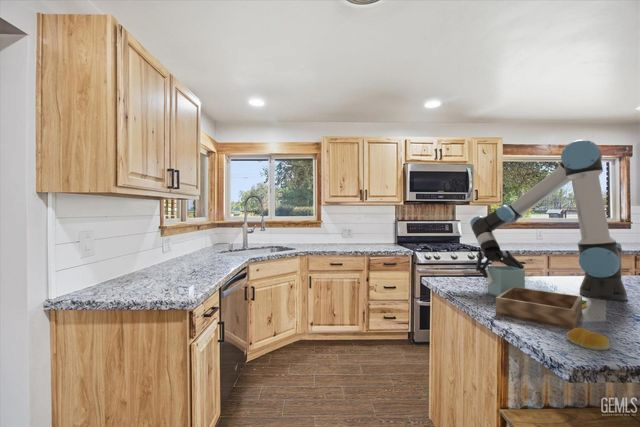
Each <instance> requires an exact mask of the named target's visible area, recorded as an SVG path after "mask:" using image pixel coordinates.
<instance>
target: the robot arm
mask: <svg viewBox="0 0 640 427" xmlns="http://www.w3.org/2000/svg"><path fill="white" fill-rule="evenodd" d="M602 157H603V156H602V151H601V150H600V148H599V146H598V145H597V144H596V143H595V142H593V141H591V140H588V139H587V140H586V139H578V140H574V141H571V142H569V143H568V144H566V146H565V147H564V148H563V149H562V151H561V155H560V161H561V162H560V163H559V164H558V166H557V168H556V169H555V170H553V171H552V172H551V173H549V174H548V175H547V176H546V177H544V178H543V179H542V180H540V181H539V182H538V183H536V184H535V185H534V186H533V187H531V188H530V189H528V190H527V191H526V192H524V193H523V194H522V195H521V196H519V197H518V198H517V199H516V200H514V201H513V202H512V203H510V204H509V205H507V204H503V205H501V206H500V207H497V208H496V209H495V210H493V211H492V212H490V213H489V214H487V215H486V216H483V215H478V216H475V217H473V218H471V220H470V222H469V223H470V227H471V231H472V232H473V234H474V236H475V239H476V240H477V243H478V246H479V247H480V250H479V251H478V253H477V254H476V257H477V260H476V265H475V266H476V267H475V270H476V271H477V272H479V273H480V274H482V277H483V278H484V279H485V280H486V282H487V285H488V284H489V285H491V284H492V283H493V281H492V278H491V276H490V274H489V271H488V268H487V267H488V266H489V263H490V262H491V263H495V262H496V263H501V264H504V266H512V267H516V268H519V269H522V270H524V268H525V266H524V265H523V263H521V262H520V261H518V260H517V259H516V257H514V256H513V255H512V254H511V252H509V250H505V251H504V252H503V251H502V250H501V247H500V245H499V242H498V241H497V239H496V237H495V235H494V233H493V231H495V230H497V229H499V228H500V227H502V226H505V225H514V224H515V223H517V221H518V220H519V219H520V218H521V217H523V216H524V215H525V214H526V213H528V212H529V211H531V210H532V209H533V208H535V207H536V206H538V205H539V204H541V203H542V202H543V201H545V200H546V199H547V198H549V197H550V196H551V195H553V194H554V193H555V192H557V191H559V190H560V189H562V188H563V187H564V186H565V185H567V184H568V183H570V182H571V185H572V190H573V197H574V203H575V208H576V209H575V210H576V214H577V220H578V226H579V231H580V236H581V237H580V238H581V239H580V240H579V241H578V242H577V247H578V248H577V249H578V254H579V257H578V265H579V267H580V268H581V269H582V271H584V277H583V278H582V279H583V280H582V282H581V283H580V284H581V285H580V287H579V294H580V296H585V297H588V298H593V299H596V300H597V299H599V300H602V301H603V300H605V301H614V302H615V301H616V302H617V301H618V302H619V301H621V302H622V301H627V300H628V293H627V290H626V288H625V286H624V283H623V280H622V252H623V248H622V245H621V243H619V242H617V241H616V239H614V238H612V237H611V236H610V231H609V230H610V229H609V224H608V220H607V213H606V209H605V203H604V202H605V201H604V196H603V191H602V187H601V182H600V181H601V180H600V176H601V174H602V173H603V172H604V168H603V163H602ZM483 257H484V258H486V260H485V261H484V263H483V265H482V262H483Z"/></svg>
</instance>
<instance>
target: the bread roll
mask: <svg viewBox="0 0 640 427" xmlns="http://www.w3.org/2000/svg"><path fill="white" fill-rule="evenodd" d="M566 338H567V340H568V341H569V342H570V343H572V344H574V345H577V346H581V347H583V348H585V349H588V350H593V351H595V350H596V351H607V350H609V349H610V344H611V343H610V340H609V339H608V337H606V335H604V334H600V333H597V332H592V331H590V330H589V329H586V328H584V327H576V328H574V329H569V330H568V331H567V332H566Z"/></svg>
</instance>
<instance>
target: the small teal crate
mask: <svg viewBox="0 0 640 427" xmlns="http://www.w3.org/2000/svg"><path fill="white" fill-rule="evenodd" d="M487 269H488V271H489V274H490V276H491V278H492V281H493V283H492V284H491V285H489V284H488V283H487V294H488V295H490V296H493V297H494V298H496V297H497V296H499V295H500V294H502V293H503V292H505V291H506V290H508V289H509V288H511V287H519V288H525V287H526V284H525V283H526V278H525V276H526V270H525V269H519V268H516V267H512V266H507V265H487Z"/></svg>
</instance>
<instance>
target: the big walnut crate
mask: <svg viewBox="0 0 640 427" xmlns="http://www.w3.org/2000/svg"><path fill="white" fill-rule="evenodd" d="M582 300H583V295H576V294H575V295H574V294H569V293H568V294H567V293H563V292H562V293H561V292H553V291H546V290H539V289H533V288H519V287H511V288H509V289H508V290H506V291H505V292H503V293H502V294H500V295H499V296H497V297H495V315H497V316H502V317H506V318H507V317H508V318H511V319H517V320H522V321H525V322H526V321H527V322H532V323H536V322H537V324H541V323H542V324H541V325H546V324H548V325H547V326H551V325H553V327H556V326H558V327H557V328H561V327H562V329H566V328H567V330H572V329H574V328H577V326H578V324H579V321H580V318H581V317H582V314H583V308H582Z"/></svg>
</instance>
